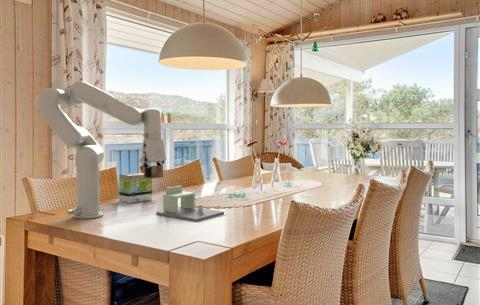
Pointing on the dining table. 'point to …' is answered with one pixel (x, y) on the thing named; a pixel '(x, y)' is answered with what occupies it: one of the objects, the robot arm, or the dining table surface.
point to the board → (192, 213)
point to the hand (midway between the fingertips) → (153, 175)
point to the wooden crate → (155, 171)
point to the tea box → (134, 188)
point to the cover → (172, 199)
